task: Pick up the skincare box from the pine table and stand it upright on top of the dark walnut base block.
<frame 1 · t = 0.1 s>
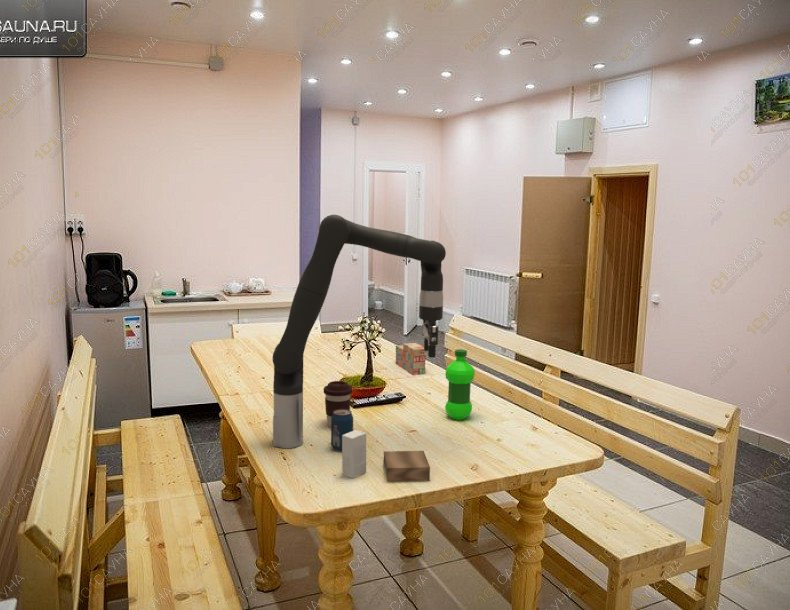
hand: (429, 353, 203), 29 cm above the table, fingers open, 8 cm apart
coffee cup: (337, 425, 220), on the table
plastic bottle: (458, 417, 231), on the table
printed snack box: (409, 369, 297), on the table
walnut base: (405, 472, 183), on the table
soda can: (341, 448, 200), on the table
skincare box: (354, 474, 181), on the table
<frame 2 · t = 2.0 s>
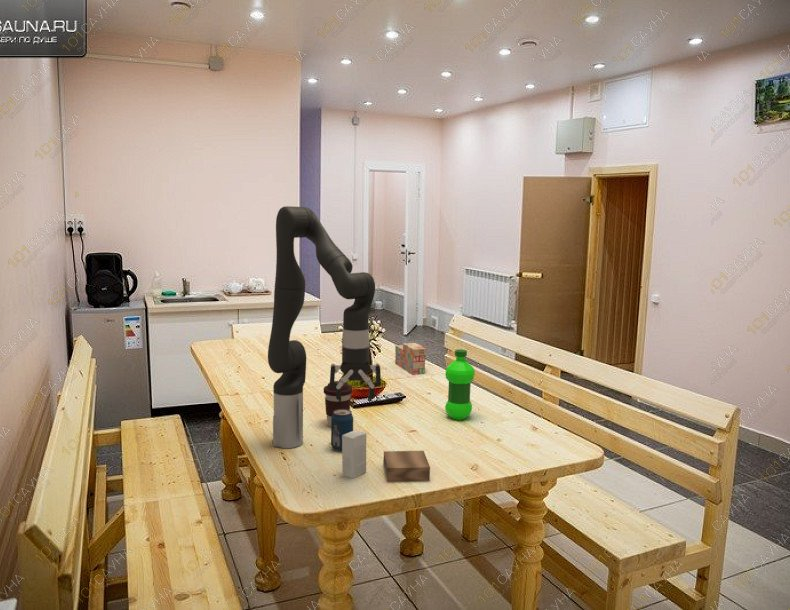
hand: (355, 400, 178), 22 cm above the table, fingers open, 8 cm apart
nothing on the table moved.
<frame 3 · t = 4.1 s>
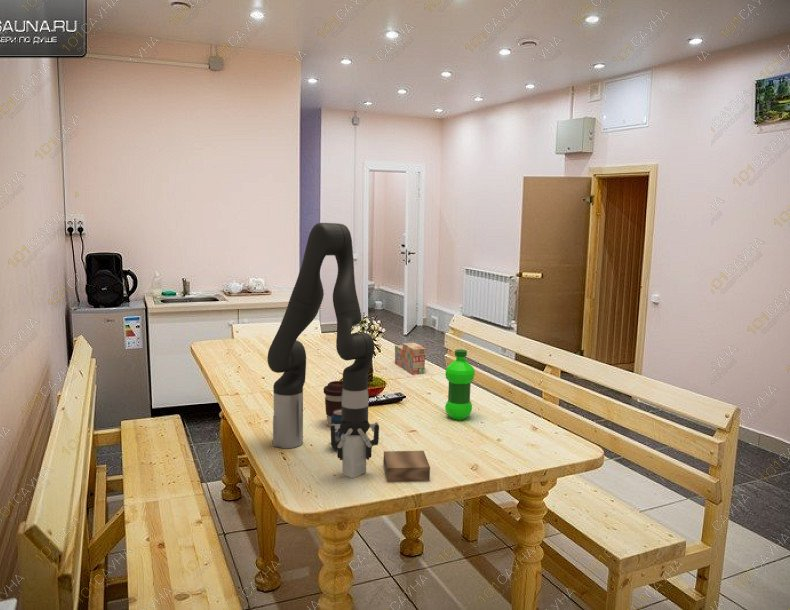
hand: (354, 458, 181), 4 cm above the table, fingers closed on skincare box, 7 cm apart
skincare box: (354, 474, 181), on the table, touching gripper
everything else where it was.
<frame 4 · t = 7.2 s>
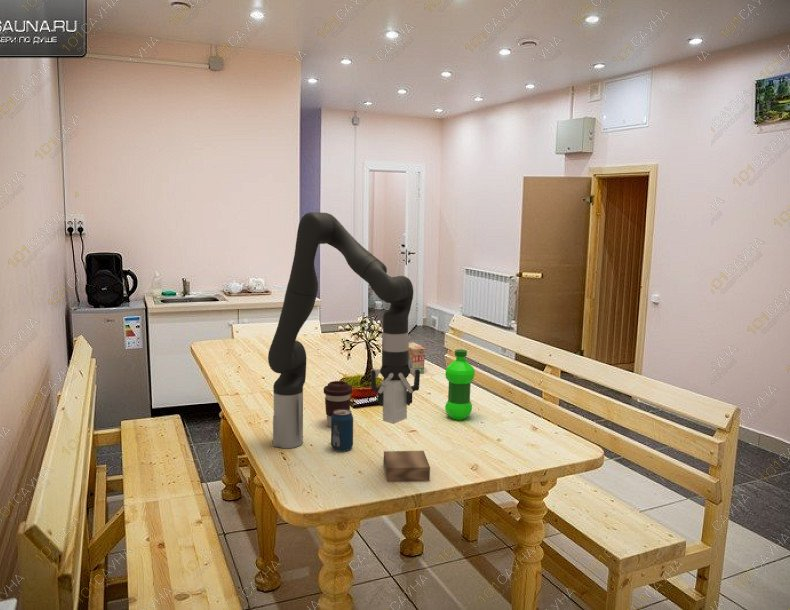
hand: (395, 404, 179), 21 cm above the table, fingers closed on skincare box, 7 cm apart
skincare box: (394, 420, 179), point 16 cm above the table, touching gripper
everything else where it was.
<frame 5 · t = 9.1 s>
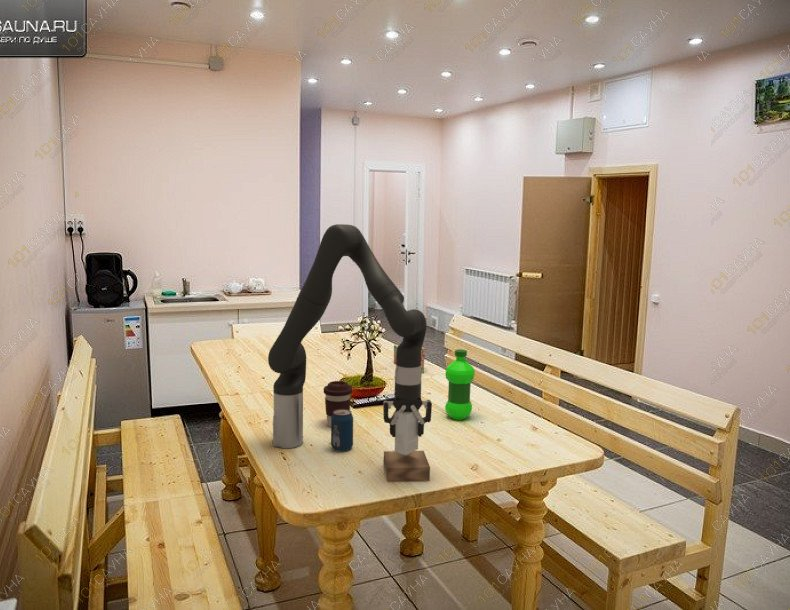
hand: (406, 435, 181), 11 cm above the table, fingers closed on skincare box, 7 cm apart
skincare box: (406, 451, 182), point 6 cm above the table, touching gripper
when the fingers open (9 cm above the table, at t = 10.5 s): skincare box stays where it is, resting on walnut base.
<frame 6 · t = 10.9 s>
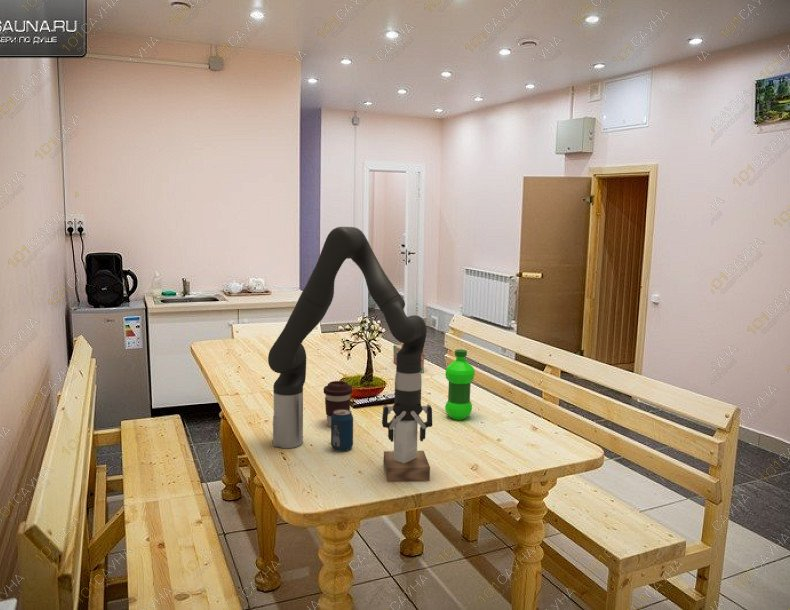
hand: (406, 440, 181), 10 cm above the table, fingers open, 8 cm apart
skincare box: (405, 459, 182), point 4 cm above the table, touching walnut base
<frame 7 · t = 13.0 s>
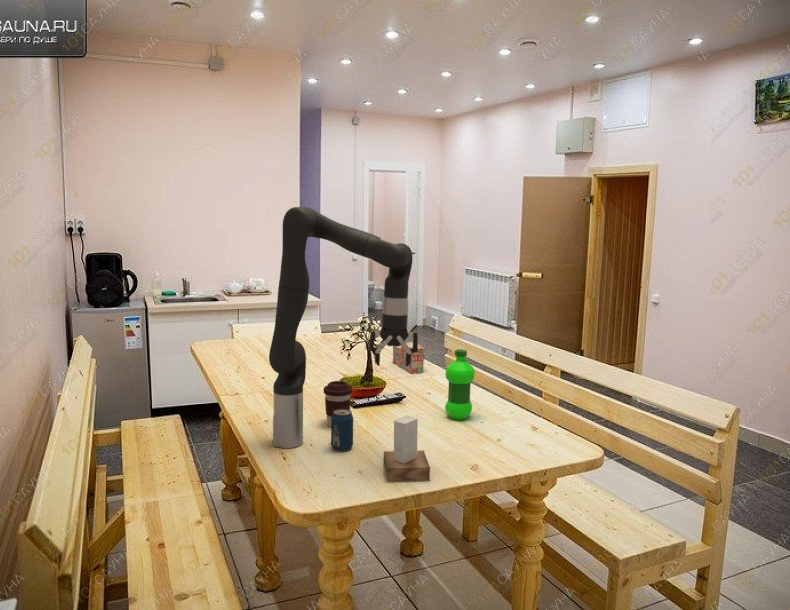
hand: (392, 365, 188), 29 cm above the table, fingers open, 8 cm apart
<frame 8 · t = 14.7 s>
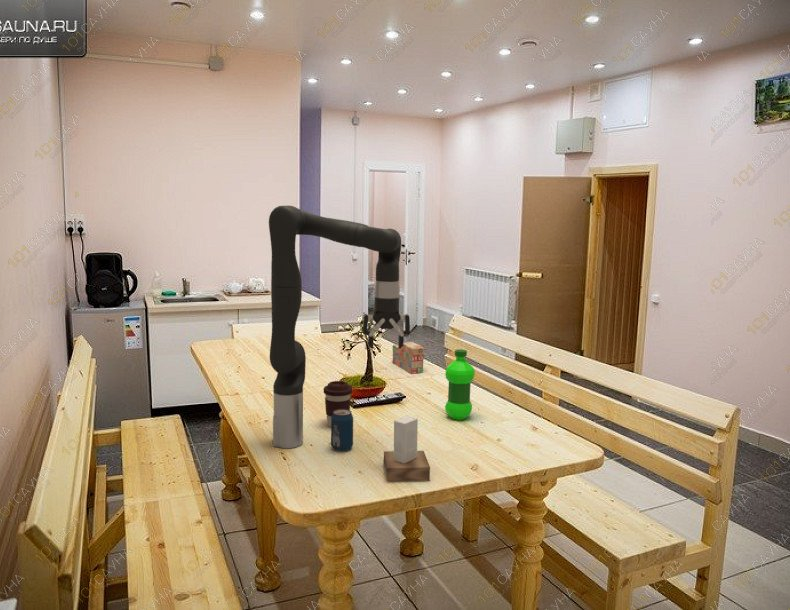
hand: (385, 348, 193), 33 cm above the table, fingers open, 8 cm apart
at the end: skincare box inside the target area on the walnut base (0.3 cm from its centre), point 3.8 cm above the walnut base's base; skincare box tilted 0°; the gripper is holding nothing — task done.
